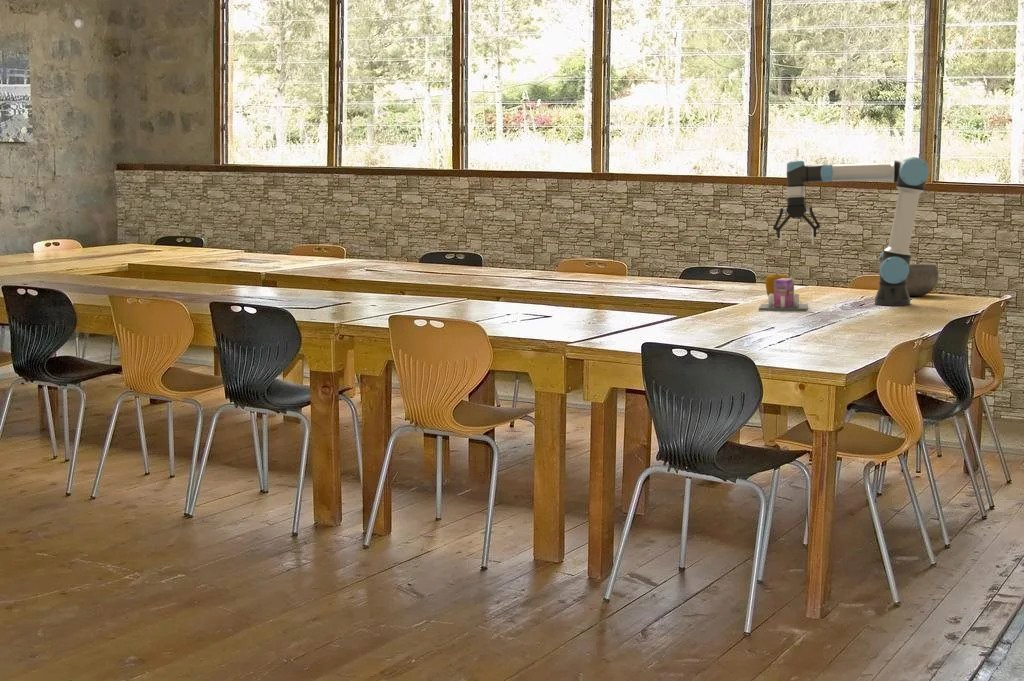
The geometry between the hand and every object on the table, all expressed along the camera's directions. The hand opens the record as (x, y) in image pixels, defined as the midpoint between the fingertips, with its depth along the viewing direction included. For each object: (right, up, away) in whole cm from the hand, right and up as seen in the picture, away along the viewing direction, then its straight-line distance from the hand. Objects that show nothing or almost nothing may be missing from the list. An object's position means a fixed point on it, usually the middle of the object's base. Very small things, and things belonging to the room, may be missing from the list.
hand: (796, 245), depth 557 cm
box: (-7, -27, -5) cm, 28 cm away
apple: (-2, -23, +32) cm, 40 cm away
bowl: (+65, -21, +41) cm, 79 cm away
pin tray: (-7, -28, -5) cm, 29 cm away
